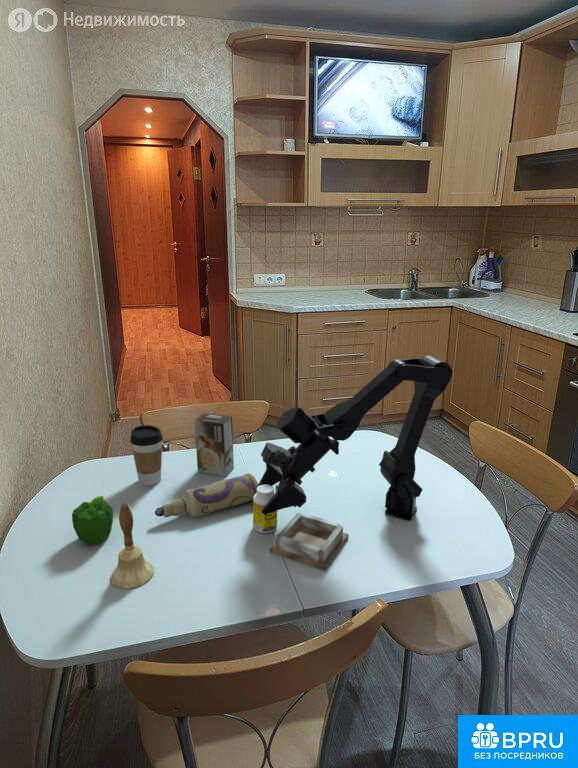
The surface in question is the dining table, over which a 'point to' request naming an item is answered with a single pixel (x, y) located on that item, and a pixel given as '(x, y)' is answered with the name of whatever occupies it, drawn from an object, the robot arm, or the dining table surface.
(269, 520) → the supplement bottle
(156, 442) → the coffee cup
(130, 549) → the hand bell
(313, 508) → the dining table surface
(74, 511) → the bell pepper
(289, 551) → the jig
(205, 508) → the decorative bottle
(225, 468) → the coffee box
